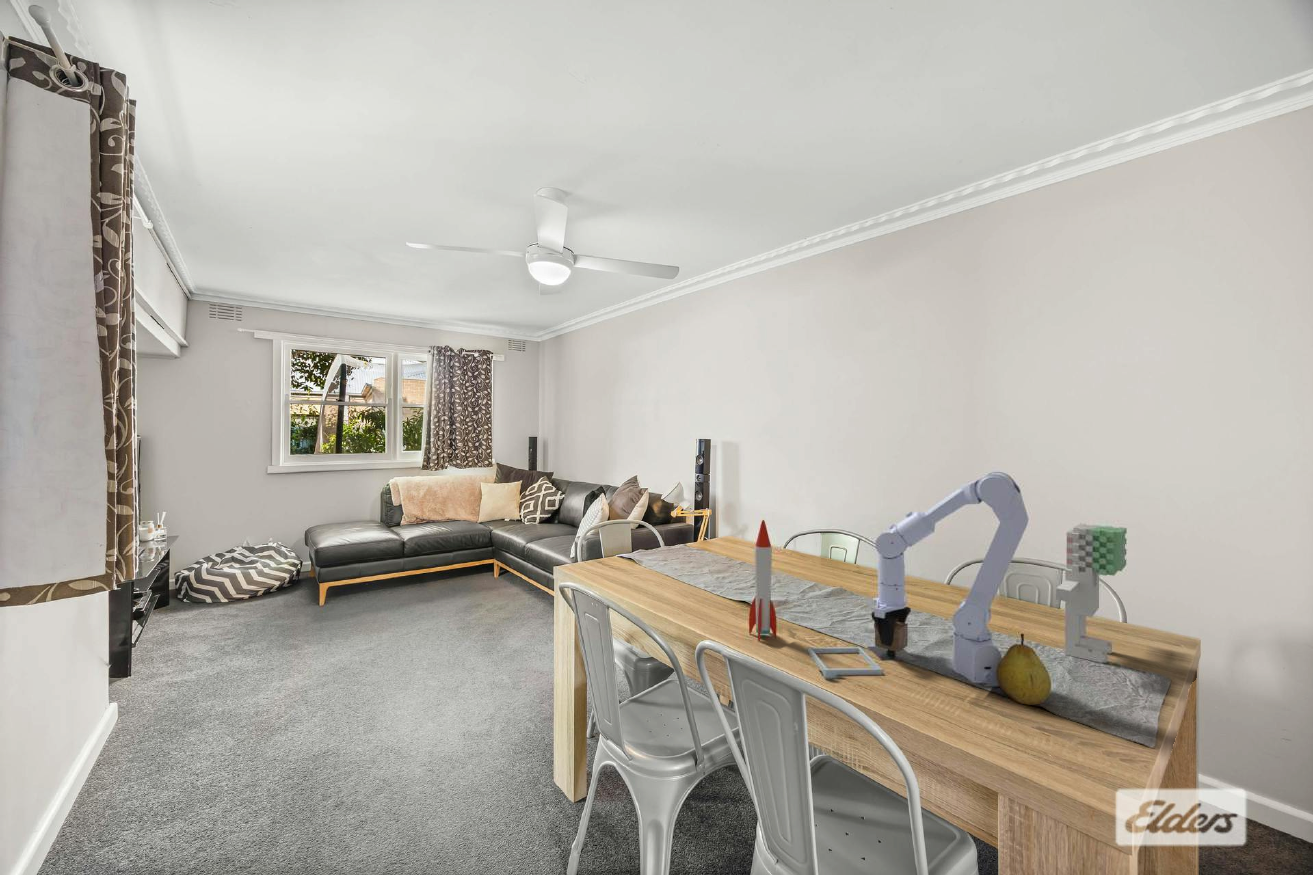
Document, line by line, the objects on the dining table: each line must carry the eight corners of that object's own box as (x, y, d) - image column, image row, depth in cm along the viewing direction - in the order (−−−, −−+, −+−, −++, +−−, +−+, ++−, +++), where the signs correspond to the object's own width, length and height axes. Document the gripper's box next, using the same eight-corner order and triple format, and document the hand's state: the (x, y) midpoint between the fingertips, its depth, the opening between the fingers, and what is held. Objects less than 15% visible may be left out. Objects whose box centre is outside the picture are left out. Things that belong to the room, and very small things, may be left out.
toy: (1114, 681, 115) (1115, 538, 115) (1055, 666, 122) (1056, 532, 122) (1130, 643, 136) (1131, 522, 136) (1079, 632, 143) (1080, 518, 143)
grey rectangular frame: (882, 678, 116) (882, 669, 116) (825, 679, 116) (825, 669, 116) (859, 655, 128) (859, 647, 128) (808, 656, 128) (808, 647, 128)
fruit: (1032, 713, 102) (1032, 649, 102) (986, 692, 110) (986, 632, 110) (1062, 704, 105) (1062, 642, 105) (1015, 684, 113) (1015, 627, 113)
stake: (916, 664, 124) (916, 634, 124) (881, 664, 123) (881, 634, 123) (900, 650, 132) (900, 622, 132) (867, 650, 131) (867, 622, 131)
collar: (898, 651, 124) (898, 629, 124) (870, 644, 128) (870, 623, 128) (907, 645, 128) (907, 623, 127) (879, 638, 132) (879, 617, 132)
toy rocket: (758, 641, 137) (758, 522, 137) (748, 633, 143) (748, 518, 142) (778, 638, 139) (778, 521, 139) (767, 631, 144) (767, 517, 144)
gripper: (885, 574, 135) (886, 628, 135) (861, 585, 125) (861, 645, 125) (915, 579, 130) (915, 636, 131) (892, 591, 120) (892, 653, 120)
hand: (891, 641), depth 127 cm, fingers closed on collar, 5 cm apart
